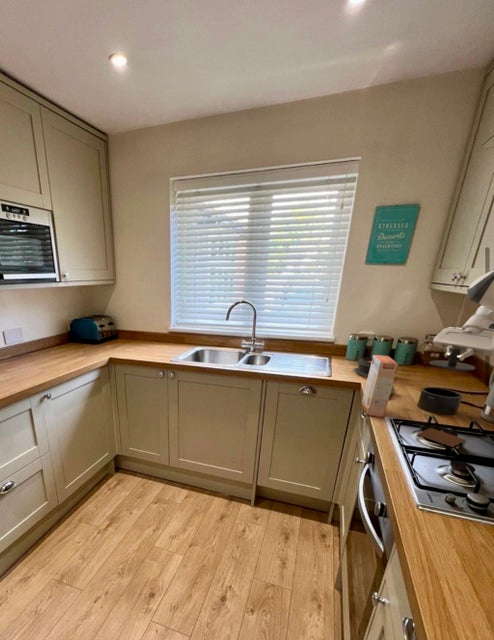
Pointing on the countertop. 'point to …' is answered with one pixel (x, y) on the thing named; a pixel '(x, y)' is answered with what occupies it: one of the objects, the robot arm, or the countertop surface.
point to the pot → (439, 401)
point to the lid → (452, 362)
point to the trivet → (441, 437)
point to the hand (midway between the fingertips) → (452, 358)
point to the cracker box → (379, 385)
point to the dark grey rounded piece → (364, 366)
